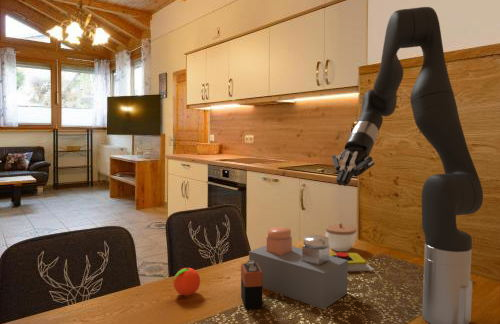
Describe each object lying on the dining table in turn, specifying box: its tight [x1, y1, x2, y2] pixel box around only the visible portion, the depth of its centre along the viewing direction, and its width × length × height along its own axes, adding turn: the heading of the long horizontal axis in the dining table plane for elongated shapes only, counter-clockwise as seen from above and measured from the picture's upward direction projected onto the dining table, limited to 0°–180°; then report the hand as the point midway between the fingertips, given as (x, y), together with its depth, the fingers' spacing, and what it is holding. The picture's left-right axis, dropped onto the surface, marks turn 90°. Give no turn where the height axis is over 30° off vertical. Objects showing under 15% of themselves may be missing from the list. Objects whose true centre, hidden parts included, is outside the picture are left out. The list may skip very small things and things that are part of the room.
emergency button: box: [329, 251, 374, 272], centre depth 119 cm, size 9×4×15 cm
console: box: [248, 244, 349, 310], centre depth 102 cm, size 24×12×9 cm, turn 48°
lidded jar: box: [325, 222, 357, 252], centre depth 136 cm, size 11×11×9 cm
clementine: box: [172, 267, 201, 296], centre depth 98 cm, size 8×7×7 cm
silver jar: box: [301, 234, 330, 266], centre depth 97 cm, size 6×6×9 cm
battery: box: [240, 260, 263, 310], centre depth 93 cm, size 4×7×10 cm, turn 10°
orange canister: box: [266, 226, 293, 255], centre depth 105 cm, size 6×6×9 cm
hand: (341, 183), depth 106 cm, fingers closed
